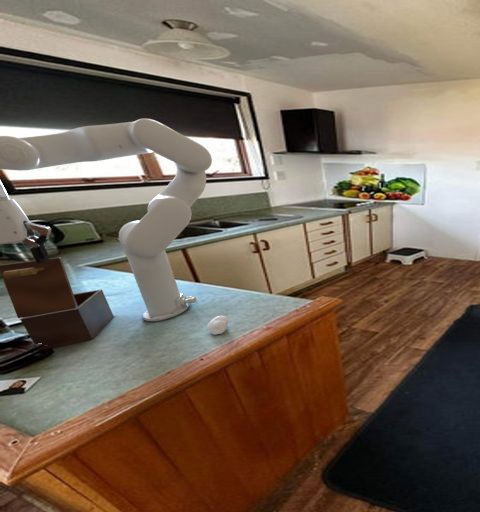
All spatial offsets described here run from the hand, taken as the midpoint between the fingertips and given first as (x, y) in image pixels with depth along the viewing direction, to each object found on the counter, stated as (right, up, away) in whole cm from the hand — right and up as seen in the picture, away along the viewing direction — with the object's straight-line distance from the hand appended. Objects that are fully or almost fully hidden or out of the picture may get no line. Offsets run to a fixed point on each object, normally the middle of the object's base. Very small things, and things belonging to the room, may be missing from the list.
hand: (16, 264), depth 68 cm
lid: (-1, -6, +5) cm, 8 cm away
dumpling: (+42, -21, +14) cm, 49 cm away
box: (-2, -21, +16) cm, 27 cm away
